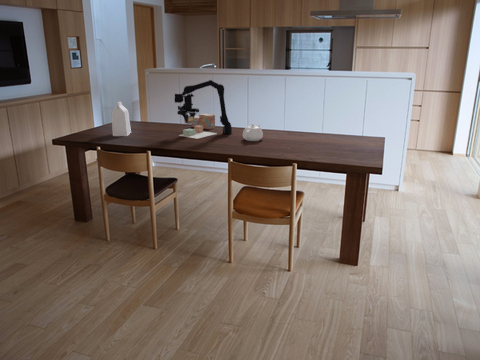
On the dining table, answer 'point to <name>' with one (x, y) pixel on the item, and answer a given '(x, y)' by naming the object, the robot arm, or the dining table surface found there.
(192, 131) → the pedestal
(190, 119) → the beech cube
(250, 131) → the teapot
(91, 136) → the dining table surface
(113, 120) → the milk
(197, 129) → the terracotta cube
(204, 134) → the board
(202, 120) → the stack of blocks
